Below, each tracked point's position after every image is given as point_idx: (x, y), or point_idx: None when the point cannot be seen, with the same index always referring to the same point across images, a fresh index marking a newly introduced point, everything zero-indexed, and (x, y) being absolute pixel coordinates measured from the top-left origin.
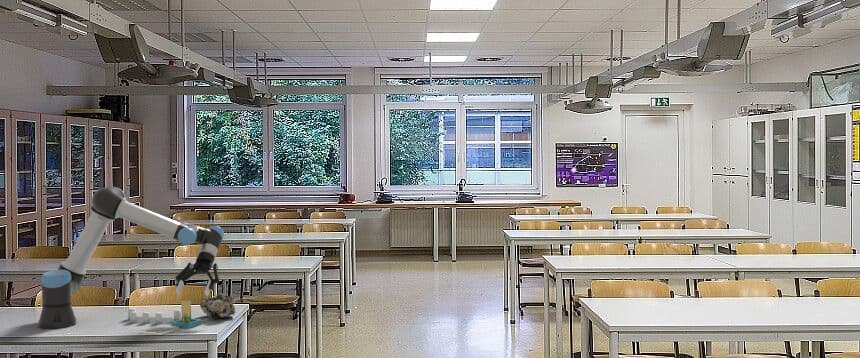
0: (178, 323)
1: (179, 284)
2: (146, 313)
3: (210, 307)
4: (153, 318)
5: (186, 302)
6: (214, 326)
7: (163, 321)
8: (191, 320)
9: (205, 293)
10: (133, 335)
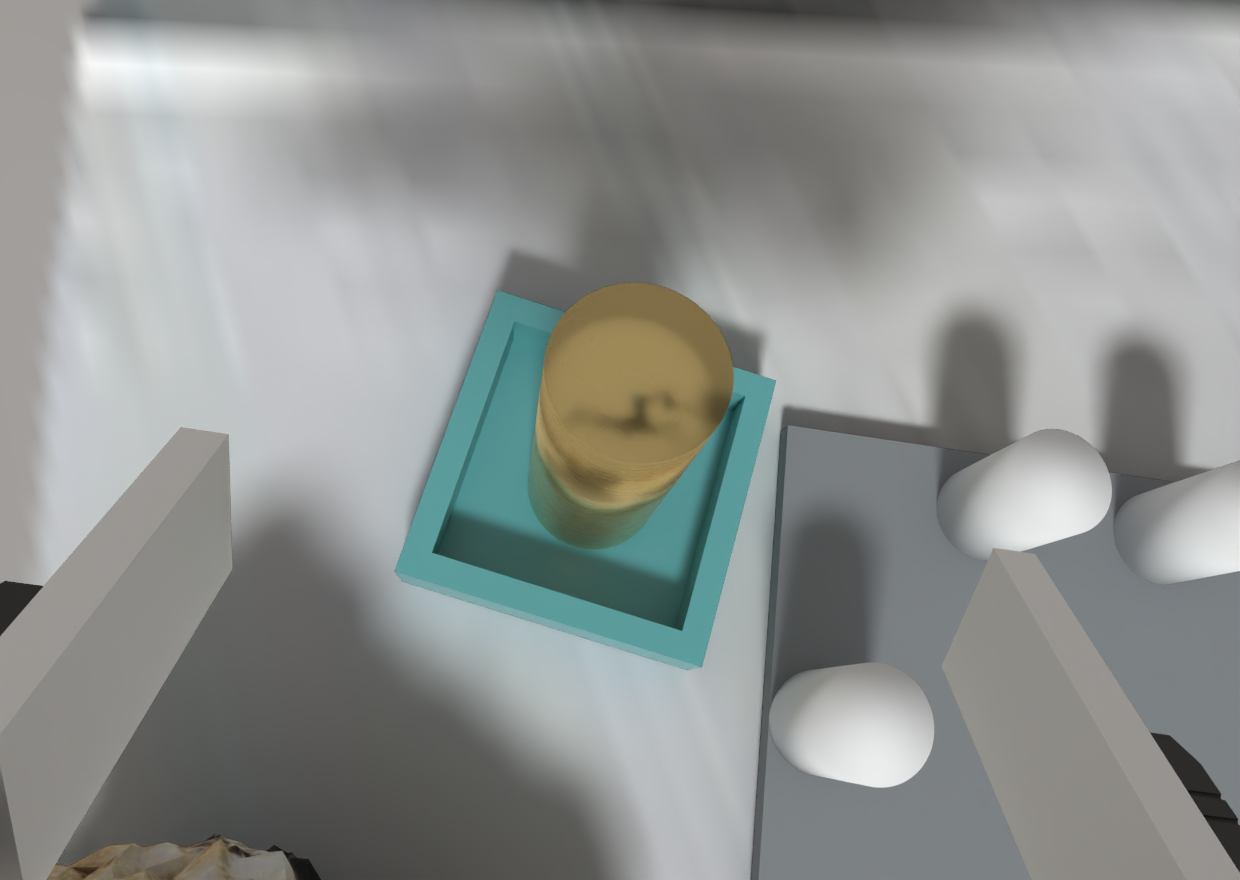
0: None
1: (1114, 728)
2: (1229, 464)
3: (277, 860)
4: None
5: (599, 291)
6: None
7: None
8: (565, 597)
9: (197, 444)
10: (980, 6)
